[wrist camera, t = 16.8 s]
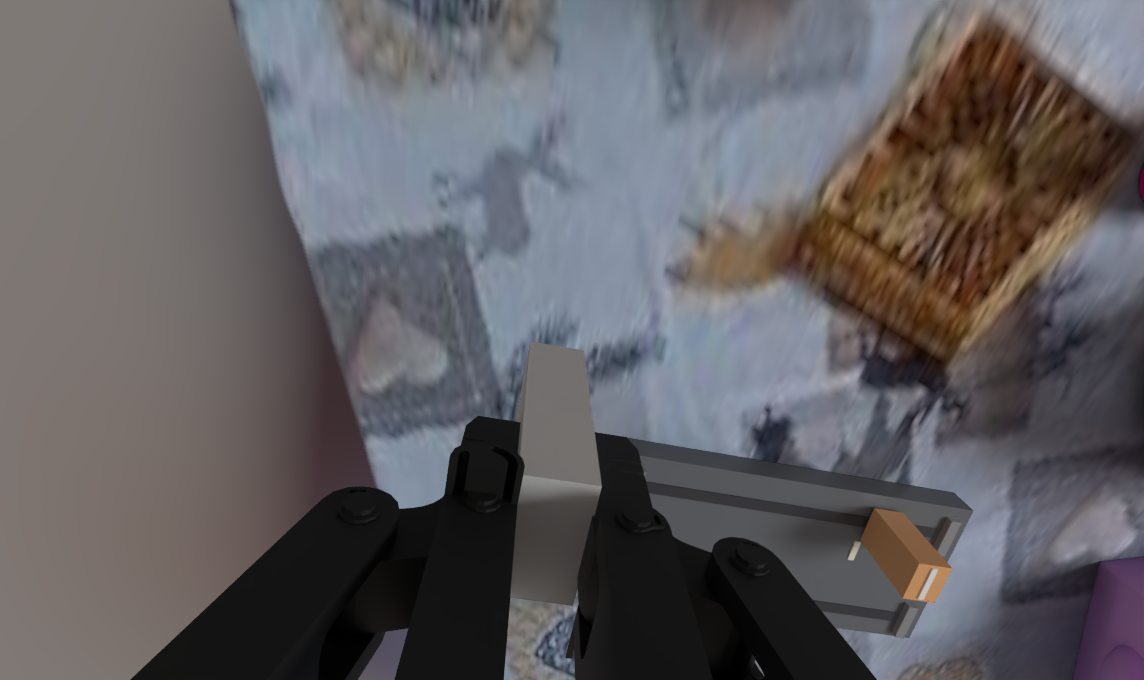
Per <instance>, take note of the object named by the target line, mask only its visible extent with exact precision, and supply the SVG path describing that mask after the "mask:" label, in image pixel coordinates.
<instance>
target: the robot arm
mask: <svg viewBox="0 0 1144 680" xmlns="http://www.w3.org/2000/svg"><path fill="white" fill-rule="evenodd" d="M577 586H578V598H579V605H578V609H577V613H576V617H575V621H574V625H573V629H572V633H571V637H570V641H569V645H568V649H567V654H566V658H572V655H573V651H574V657H575V680H877V679H876V678H875V677H874V676H873V674H872V673H871V672H870V671H869V669H868V668H867V667H866V666H865V664H864V663H863V662H862V661H861V659H860V658H859V657H858V656H857V654H856V653H855V652H854V651H853V649H852V648H851V647H850V646H849V644H848V643H847V642H846V641H845V639H844V638H843V637H842V636H841V634H840V633H839V632H838V631H837V629H836V628H835V627H834V626H833V625H832V623H831V622H830V621H829V620H828V618H827V617H826V616H825V615H824V613H823V612H822V611H821V610H820V608H819V607H818V606H817V605H816V603H815V602H814V601H813V600H812V598H811V597H810V596H809V595H808V593H807V592H806V591H805V590H804V588H803V587H802V586H801V585H800V583H799V582H798V581H797V580H796V578H795V577H794V576H793V575H792V574H791V572H790V571H789V570H788V569H787V567H786V566H785V565H784V564H783V562H782V561H781V560H780V559H779V558H778V557H777V556H776V555H775V554H774V553H773V552H772V551H770V550H769V549H767V548H765V547H764V546H762V545H760V544H759V543H756V542H754V541H750V540H748V539H745V538H737V537H728V538H723V539H720V540H719V541H717V542H716V543H715V544H714V546H713V549H712V552H708V551H705V550H703V549H700V548H697V547H694V546H692V545H689V544H687V543H685V542H682V541H680V540H678V539H677V538H675V537H673V535H672V531H671V528H670V525H669V523H668V522H667V520H666V518H665V517H664V516H663V515H662V514H660V513H659V512H658V511H657V510H656V509H654V508H653V507H652V503H651V499H650V495H649V491H648V487H647V483H646V479H645V476H644V471H643V467H642V465H641V459H640V455H639V451H638V449H637V448H636V447H635V446H634V445H633V444H632V443H631V441H630V440H629V439H628V438H627V437H621V436H615V435H609V434H602V433H596V432H595V431H594V424H593V416H592V409H591V401H590V394H589V386H588V379H587V371H586V363H585V356H584V351H583V350H577V349H571V348H565V347H559V346H553V345H547V344H541V343H535V342H530V346H529V352H528V357H527V363H526V368H525V374H524V380H523V385H522V391H521V396H520V402H519V407H518V413H517V418H516V422H514V421H508V420H501V419H495V418H489V417H482V416H477V417H476V418H475V419H474V420H472V421H471V422H470V423H469V424H467V425H466V428H465V432H464V436H463V440H462V443H461V446H459V447H457V448H455V449H454V451H453V452H452V453H451V455H450V460H449V467H448V474H447V481H446V488H445V495H444V496H443V497H442V498H441V499H440V500H438V501H436V502H434V503H432V504H429V505H426V506H422V507H416V508H407V509H399V506H398V502H397V501H396V500H395V499H394V498H393V497H392V496H391V495H390V494H388V493H386V492H384V491H382V490H380V489H376V488H370V487H363V486H362V487H348V488H344V489H341V490H338V491H334V492H332V493H331V494H329V495H328V496H326V497H325V498H323V499H322V500H321V501H320V502H319V503H318V504H316V505H315V506H314V507H313V508H312V509H311V510H310V511H309V512H308V513H307V514H306V515H305V516H304V517H303V518H302V519H301V520H299V521H298V522H297V523H296V524H295V525H294V526H293V527H292V528H291V529H290V530H289V531H288V532H287V533H286V534H285V535H284V536H282V538H280V539H279V540H278V541H277V542H276V543H275V544H274V545H273V546H272V547H271V548H270V549H269V550H268V551H267V552H265V553H264V554H263V555H262V557H260V558H259V559H258V560H257V561H256V562H255V563H254V564H253V565H252V566H251V567H250V568H249V569H247V570H246V571H245V572H244V573H243V574H242V575H241V576H240V577H239V578H238V579H237V580H236V581H235V582H234V583H233V584H232V585H230V586H229V587H228V588H227V589H226V590H225V591H224V592H223V593H222V594H221V595H220V596H219V597H218V598H217V599H216V600H215V601H214V602H212V603H211V604H210V605H209V606H208V607H207V608H206V609H205V610H204V611H203V612H202V613H201V614H200V615H199V616H198V617H196V618H195V619H194V620H193V621H192V622H191V623H190V624H189V625H188V626H187V627H186V628H185V629H184V630H183V631H182V632H181V633H180V634H178V635H177V636H176V637H175V638H174V639H173V640H172V641H171V642H170V643H169V644H168V645H167V646H166V647H165V648H164V649H162V650H161V651H160V652H159V653H158V654H157V655H156V656H155V657H154V658H153V659H152V660H151V661H150V662H149V663H148V664H147V665H146V666H144V667H143V668H142V669H141V670H140V671H139V672H138V673H137V674H136V675H135V676H134V677H133V678H132V679H131V680H358V678H359V677H360V675H361V674H362V672H363V670H364V669H365V667H366V666H367V664H368V663H369V661H370V660H371V658H372V656H373V655H374V653H375V652H376V650H377V649H378V647H379V646H380V644H381V642H382V640H383V637H384V635H385V632H386V631H392V630H398V629H406V628H408V632H407V636H406V639H405V643H404V647H403V651H402V654H401V658H400V662H399V665H398V669H397V673H396V677H395V680H504V668H505V655H506V643H507V630H508V618H509V605H510V598H518V599H526V600H533V601H541V602H549V603H557V604H565V605H573V603H574V599H575V595H576V591H577ZM755 660H756V661H757V663H758V664H759V666H760V667H761V669H762V671H763V673H764V675H765V676H764V675H763V674H762V673H761V672H760V670H759V669H758V667H757V665H756V664H755Z"/></svg>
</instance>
